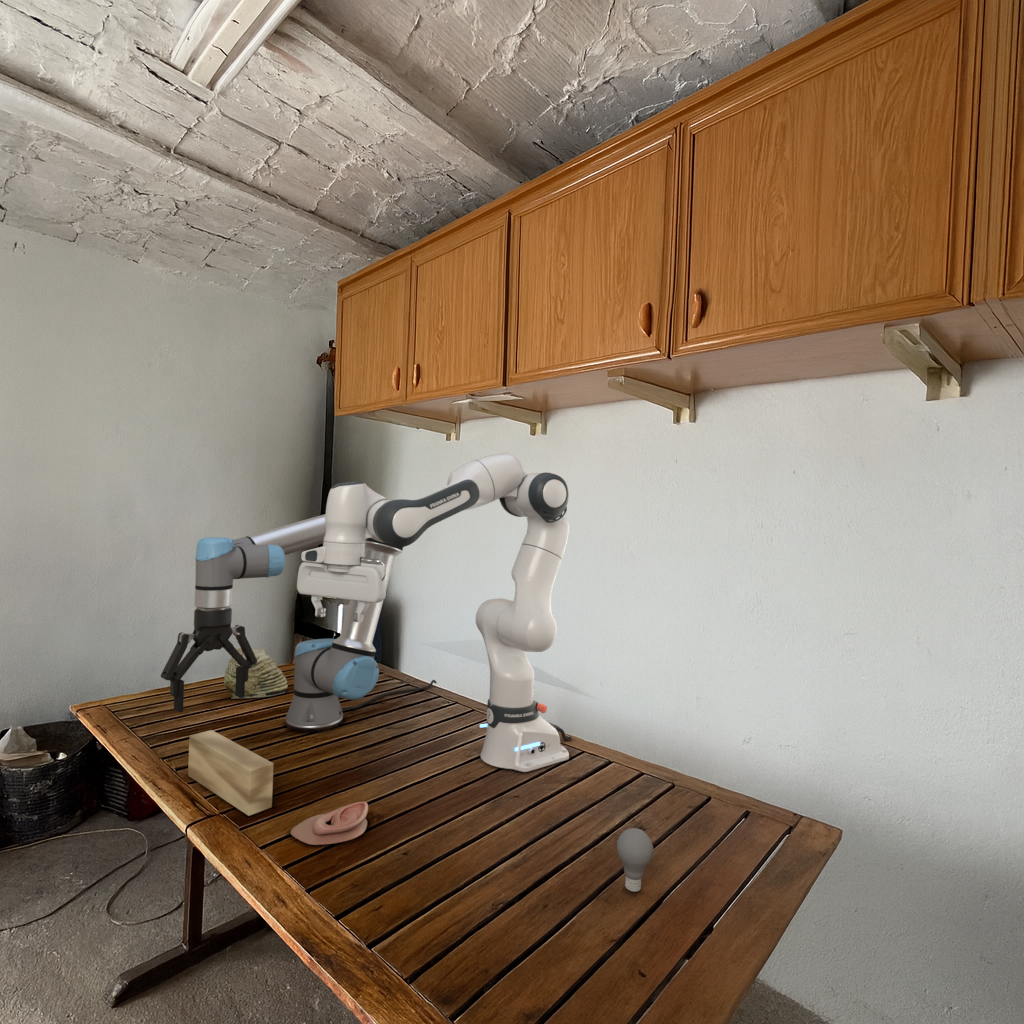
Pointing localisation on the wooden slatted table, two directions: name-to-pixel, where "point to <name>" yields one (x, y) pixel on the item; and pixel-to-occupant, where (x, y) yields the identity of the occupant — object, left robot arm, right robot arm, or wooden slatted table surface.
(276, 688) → the fossil
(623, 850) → the light bulb
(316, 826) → the anatomical model
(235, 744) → the birch rail
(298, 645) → the left robot arm
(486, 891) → the wooden slatted table surface
